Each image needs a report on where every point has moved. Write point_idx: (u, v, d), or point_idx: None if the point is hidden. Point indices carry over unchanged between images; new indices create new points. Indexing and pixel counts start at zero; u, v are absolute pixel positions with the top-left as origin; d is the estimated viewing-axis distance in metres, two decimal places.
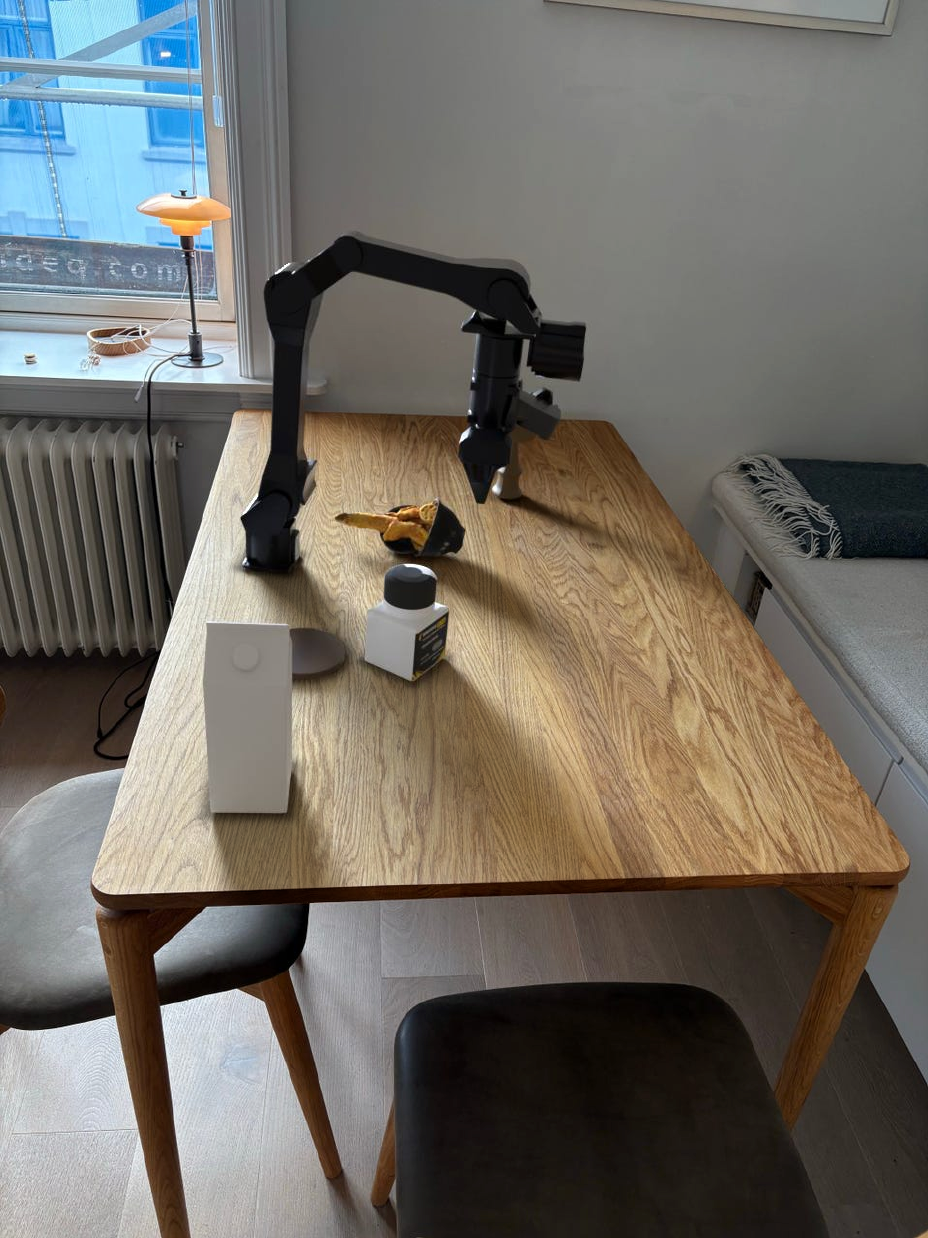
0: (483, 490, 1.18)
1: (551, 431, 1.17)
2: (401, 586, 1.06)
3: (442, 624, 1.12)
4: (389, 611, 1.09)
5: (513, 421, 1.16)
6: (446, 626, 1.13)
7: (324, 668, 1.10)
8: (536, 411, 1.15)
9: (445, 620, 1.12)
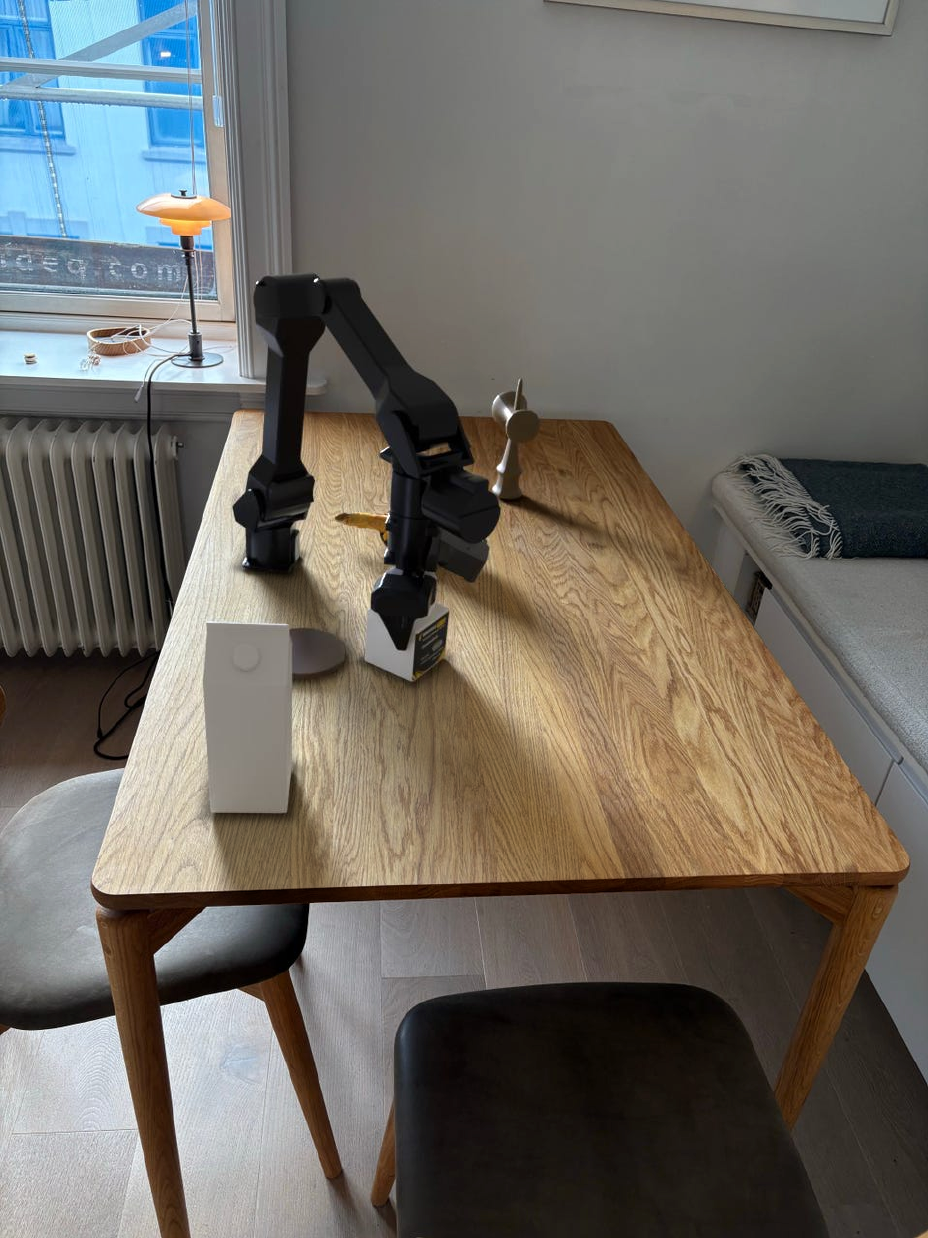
0: (403, 637, 1.06)
1: (477, 574, 1.05)
2: None
3: (442, 624, 1.12)
4: None
5: (434, 564, 1.04)
6: (446, 626, 1.13)
7: (324, 668, 1.10)
8: (459, 553, 1.04)
9: (445, 620, 1.12)
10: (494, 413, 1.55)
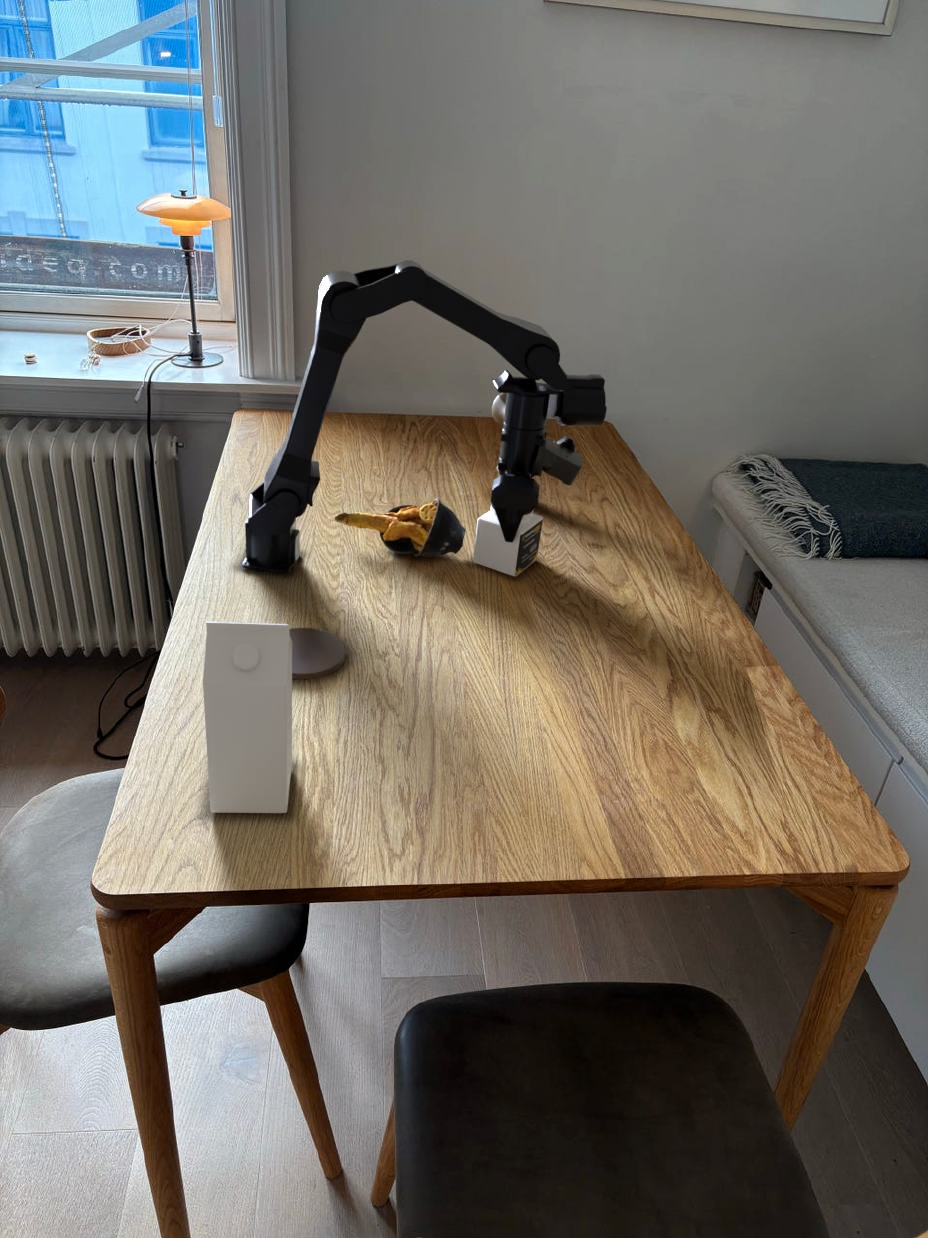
0: (512, 530, 1.30)
1: (574, 477, 1.29)
2: None
3: (538, 530, 1.36)
4: (496, 518, 1.33)
5: (539, 468, 1.28)
6: (540, 532, 1.37)
7: (324, 668, 1.10)
8: (560, 459, 1.28)
9: (539, 527, 1.36)
10: (494, 413, 1.55)
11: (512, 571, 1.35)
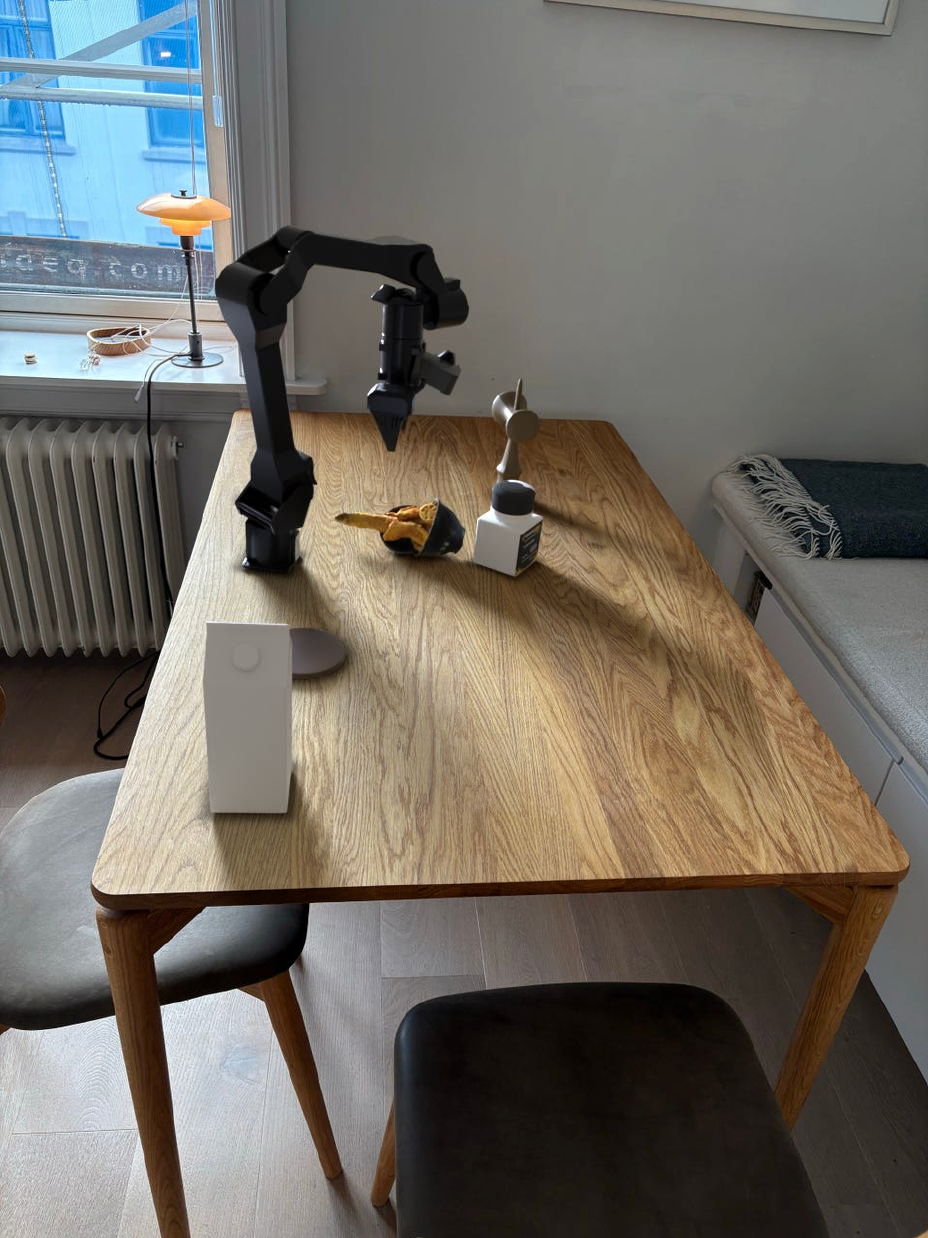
0: (392, 439, 1.35)
1: (451, 387, 1.34)
2: (509, 496, 1.31)
3: (538, 530, 1.36)
4: (496, 518, 1.33)
5: (417, 378, 1.33)
6: (540, 532, 1.37)
7: (324, 668, 1.10)
8: (437, 369, 1.32)
9: (539, 527, 1.36)
10: (494, 413, 1.55)
11: (512, 571, 1.35)
